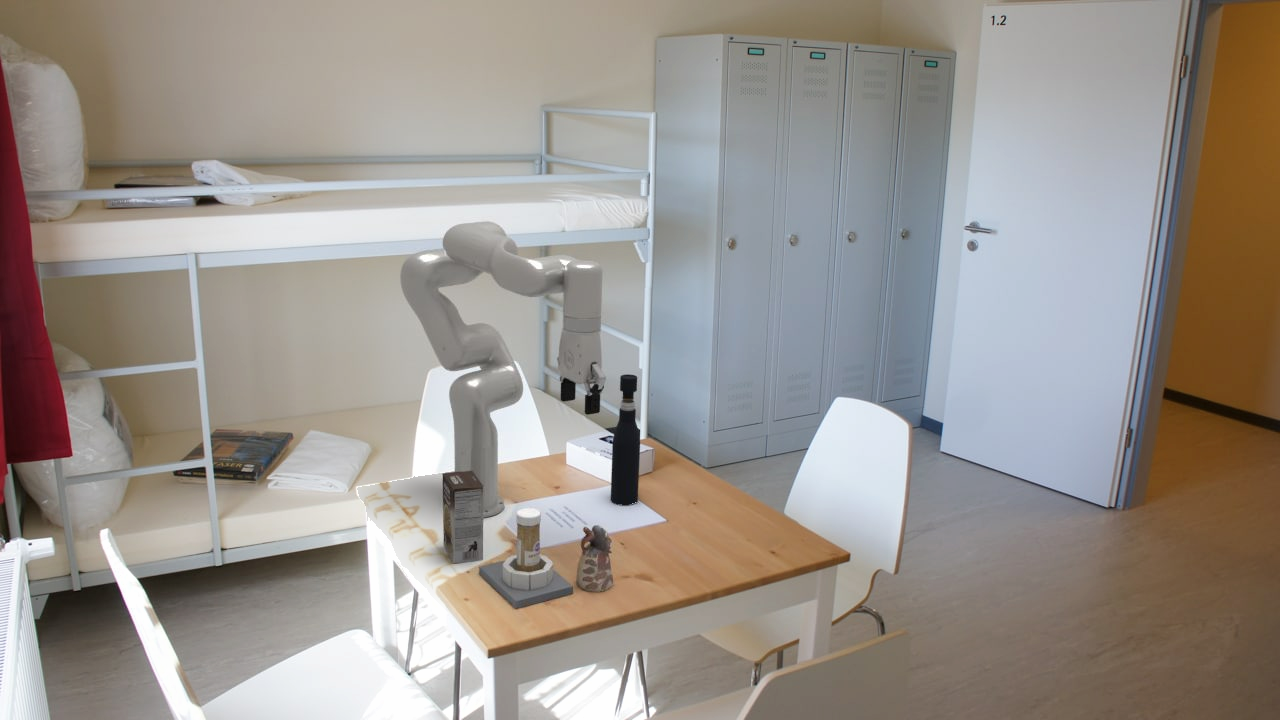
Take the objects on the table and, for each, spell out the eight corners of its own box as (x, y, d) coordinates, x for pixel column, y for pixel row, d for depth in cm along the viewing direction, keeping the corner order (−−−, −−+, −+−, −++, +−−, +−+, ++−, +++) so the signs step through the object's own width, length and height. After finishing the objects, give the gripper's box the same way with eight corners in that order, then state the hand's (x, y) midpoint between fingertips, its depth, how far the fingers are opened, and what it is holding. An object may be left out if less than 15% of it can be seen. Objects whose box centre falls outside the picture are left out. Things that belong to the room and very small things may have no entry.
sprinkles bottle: (535, 584, 189) (536, 518, 186) (512, 581, 190) (513, 515, 187) (543, 573, 193) (543, 508, 190) (520, 570, 194) (520, 505, 191)
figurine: (616, 591, 191) (618, 532, 188) (579, 593, 190) (581, 534, 187) (609, 574, 198) (611, 517, 195) (574, 576, 196) (575, 519, 193)
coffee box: (442, 546, 207) (441, 472, 203) (472, 541, 210) (472, 469, 206) (452, 564, 199) (451, 488, 195) (484, 560, 202) (484, 484, 197)
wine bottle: (617, 507, 230) (622, 381, 223) (605, 497, 236) (609, 374, 228) (642, 503, 233) (648, 378, 226) (630, 493, 239) (635, 371, 231)
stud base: (479, 573, 196) (479, 552, 195) (533, 560, 202) (534, 539, 201) (515, 608, 183) (516, 586, 182) (573, 593, 189) (573, 571, 188)
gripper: (544, 317, 203) (543, 398, 207) (587, 334, 189) (585, 421, 193) (576, 314, 207) (574, 393, 211) (621, 331, 193) (618, 416, 197)
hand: (579, 406), depth 202 cm, fingers open, 9 cm apart
